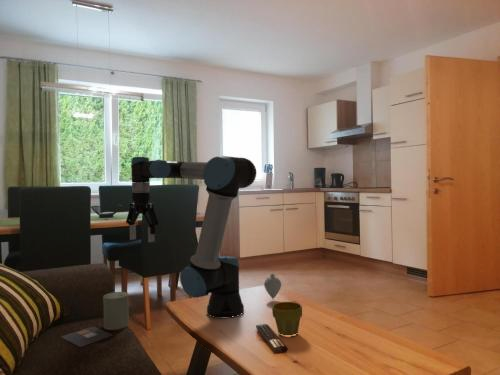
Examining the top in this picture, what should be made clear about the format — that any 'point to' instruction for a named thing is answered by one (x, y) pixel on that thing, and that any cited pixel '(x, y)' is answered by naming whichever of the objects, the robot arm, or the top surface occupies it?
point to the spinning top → (272, 285)
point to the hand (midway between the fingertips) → (142, 240)
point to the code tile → (86, 336)
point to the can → (115, 310)
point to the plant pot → (287, 317)
